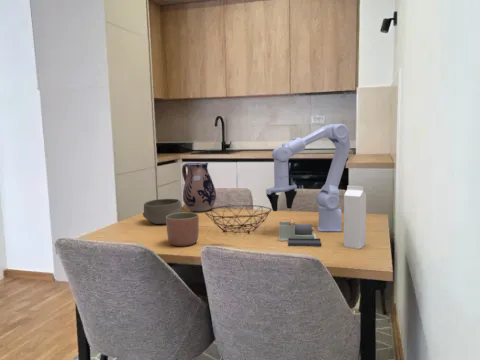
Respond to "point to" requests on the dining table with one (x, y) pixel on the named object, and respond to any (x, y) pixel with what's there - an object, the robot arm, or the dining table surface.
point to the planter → (182, 228)
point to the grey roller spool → (303, 229)
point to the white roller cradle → (290, 232)
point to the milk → (354, 217)
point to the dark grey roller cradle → (304, 242)
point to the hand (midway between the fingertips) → (282, 209)
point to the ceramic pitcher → (198, 187)
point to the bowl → (161, 209)
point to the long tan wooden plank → (292, 221)
